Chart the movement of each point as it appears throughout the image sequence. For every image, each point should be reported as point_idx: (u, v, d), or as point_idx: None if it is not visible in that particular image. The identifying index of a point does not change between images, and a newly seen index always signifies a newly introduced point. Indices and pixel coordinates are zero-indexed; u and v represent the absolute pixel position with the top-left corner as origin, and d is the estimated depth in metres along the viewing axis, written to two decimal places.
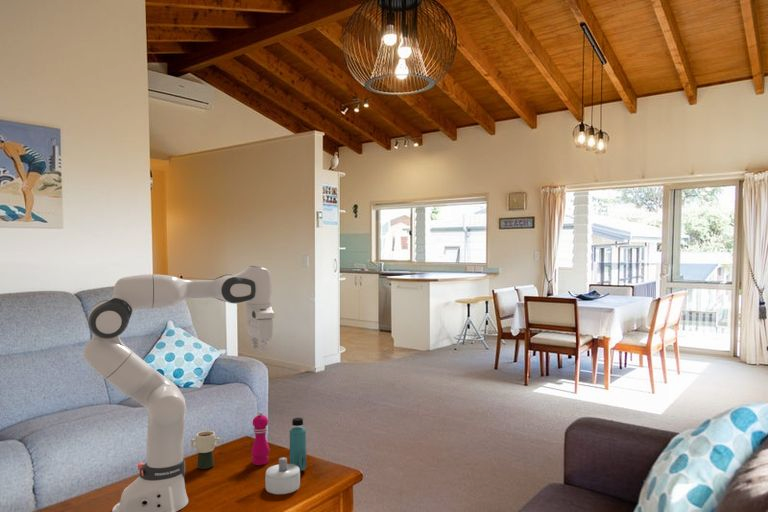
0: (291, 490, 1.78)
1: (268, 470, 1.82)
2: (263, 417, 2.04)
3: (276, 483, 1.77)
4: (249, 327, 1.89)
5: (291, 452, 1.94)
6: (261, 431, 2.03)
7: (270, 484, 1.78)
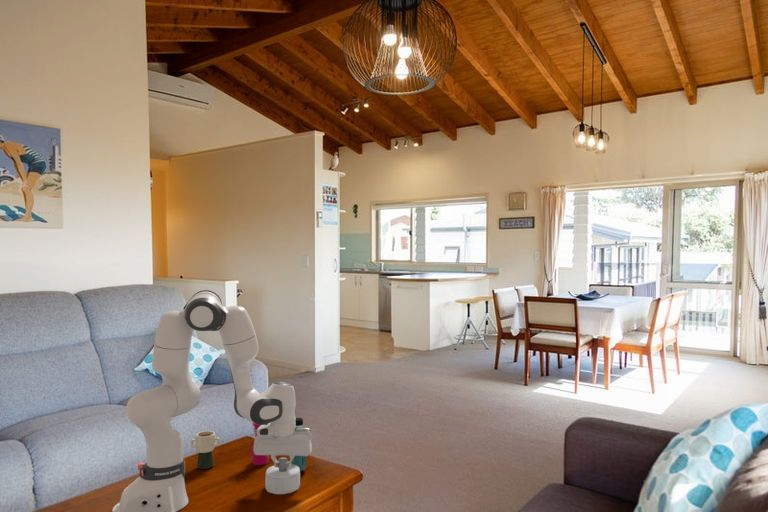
0: (291, 490, 1.78)
1: (268, 470, 1.82)
2: None
3: (276, 483, 1.77)
4: None
5: None
6: None
7: (270, 484, 1.78)
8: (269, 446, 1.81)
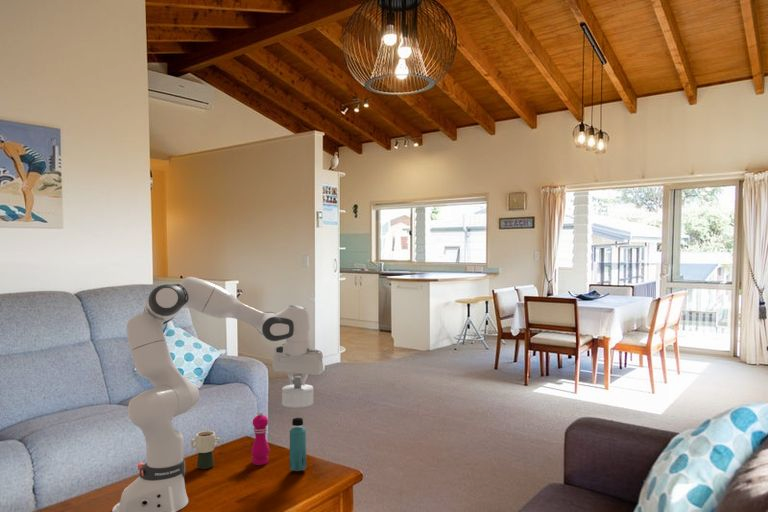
0: (301, 405, 1.90)
1: (285, 386, 1.97)
2: (263, 417, 2.04)
3: (287, 397, 1.91)
4: None
5: (291, 452, 1.94)
6: (261, 431, 2.03)
7: (283, 397, 1.92)
8: (285, 363, 1.96)
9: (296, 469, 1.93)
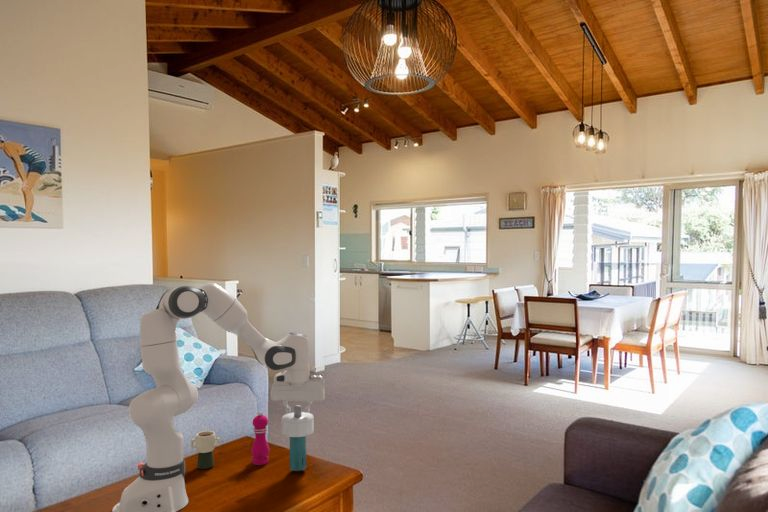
0: (306, 434, 1.91)
1: (284, 416, 1.96)
2: (263, 417, 2.04)
3: (292, 427, 1.90)
4: None
5: (291, 452, 1.94)
6: (261, 431, 2.03)
7: (286, 428, 1.91)
8: (285, 392, 1.94)
9: (296, 469, 1.93)
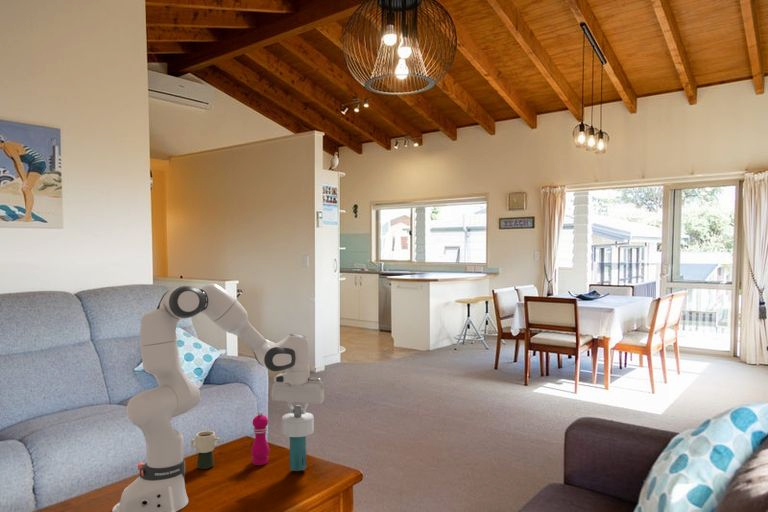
0: (306, 434, 1.91)
1: (284, 416, 1.96)
2: (263, 417, 2.04)
3: (292, 427, 1.90)
4: None
5: (291, 452, 1.94)
6: (261, 431, 2.03)
7: (286, 428, 1.91)
8: (285, 393, 1.95)
9: (296, 469, 1.93)
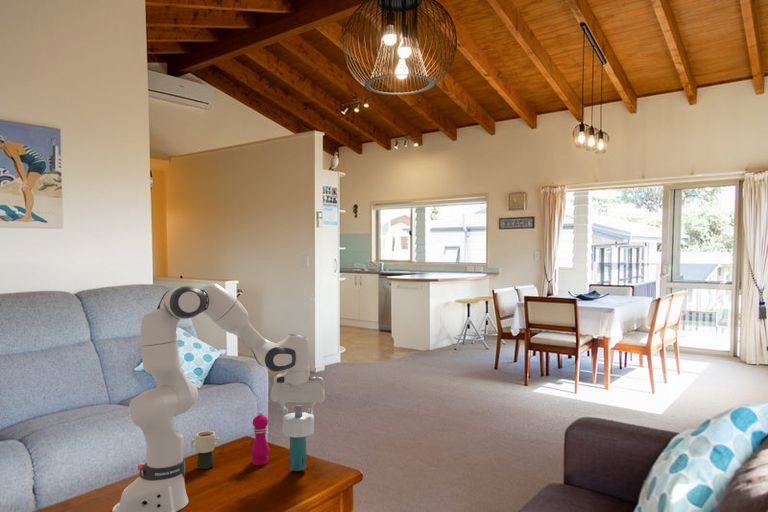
0: (309, 433, 1.92)
1: (285, 417, 1.95)
2: (263, 417, 2.04)
3: (295, 427, 1.90)
4: None
5: (291, 452, 1.94)
6: (261, 431, 2.03)
7: (289, 429, 1.90)
8: (285, 393, 1.94)
9: (296, 469, 1.93)
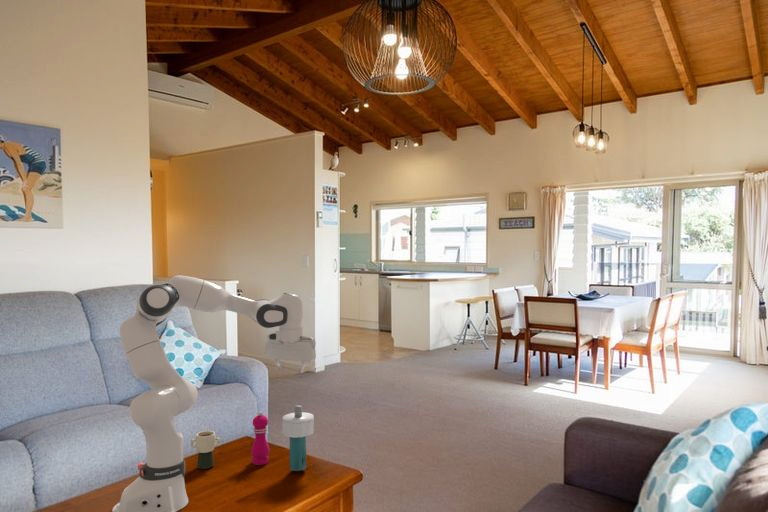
0: (308, 433, 1.92)
1: (284, 417, 1.94)
2: (263, 417, 2.04)
3: (295, 427, 1.90)
4: None
5: (291, 452, 1.94)
6: (261, 431, 2.03)
7: (289, 429, 1.90)
8: (278, 350, 1.98)
9: (296, 469, 1.93)
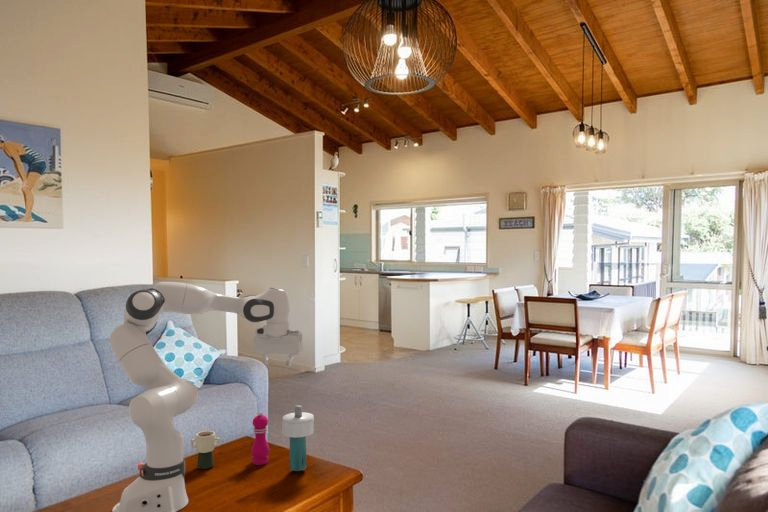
0: (308, 433, 1.92)
1: (284, 417, 1.94)
2: (263, 417, 2.04)
3: (295, 427, 1.90)
4: None
5: (291, 452, 1.94)
6: (261, 431, 2.03)
7: (289, 429, 1.90)
8: (266, 344, 2.01)
9: (296, 469, 1.93)
